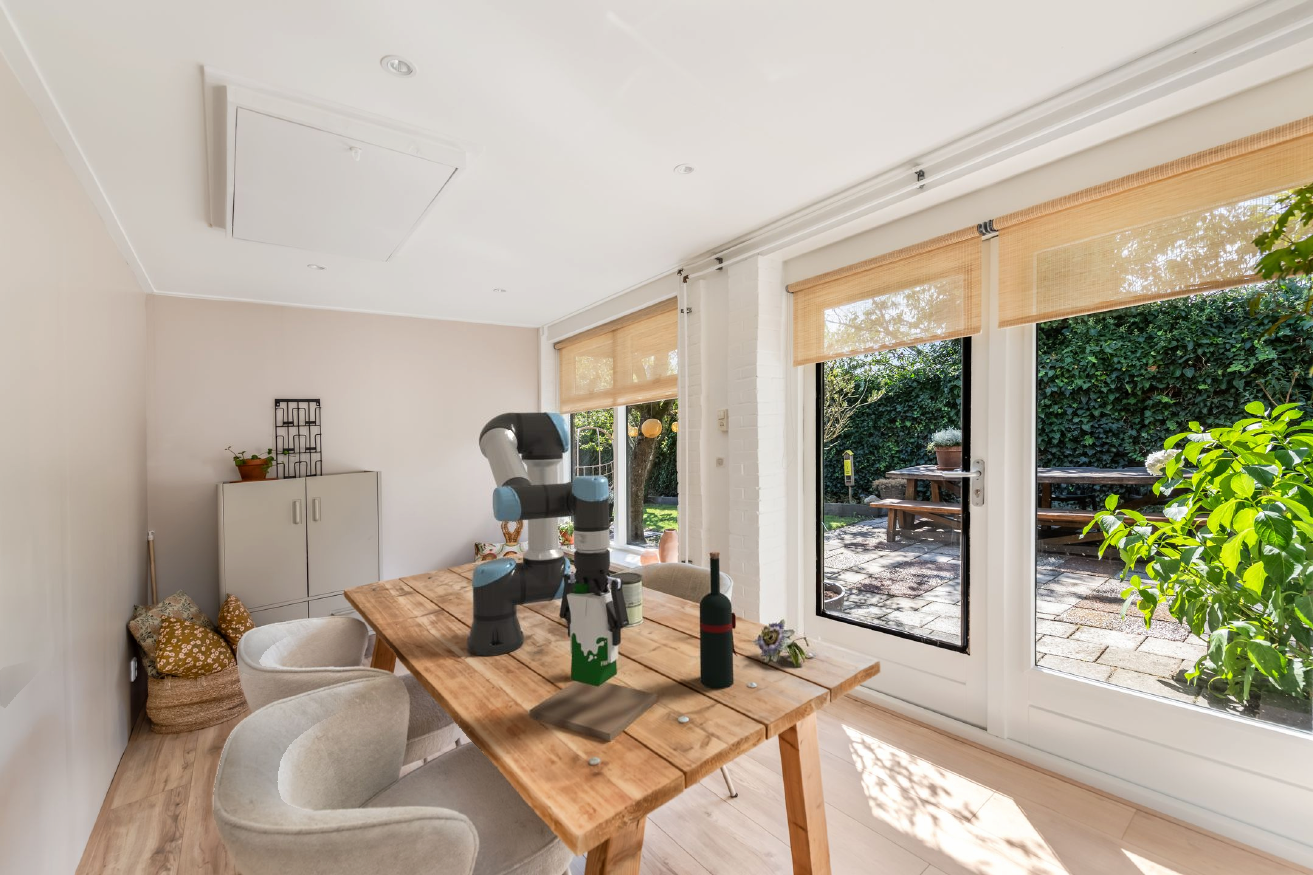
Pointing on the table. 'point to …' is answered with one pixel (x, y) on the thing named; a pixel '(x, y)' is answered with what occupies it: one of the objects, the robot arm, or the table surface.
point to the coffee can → (632, 596)
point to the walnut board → (594, 708)
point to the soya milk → (589, 637)
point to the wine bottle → (716, 633)
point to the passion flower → (779, 643)
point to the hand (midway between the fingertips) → (594, 655)
